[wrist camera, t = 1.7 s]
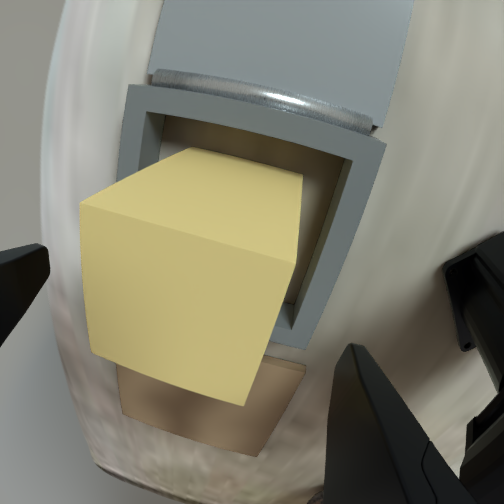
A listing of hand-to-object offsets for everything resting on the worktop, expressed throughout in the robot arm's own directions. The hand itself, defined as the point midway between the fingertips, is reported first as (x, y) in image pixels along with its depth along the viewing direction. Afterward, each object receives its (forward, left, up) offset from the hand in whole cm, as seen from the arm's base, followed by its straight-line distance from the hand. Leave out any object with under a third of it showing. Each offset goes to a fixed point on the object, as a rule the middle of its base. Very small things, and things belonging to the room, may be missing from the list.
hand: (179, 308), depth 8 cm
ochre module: (0, 0, -7) cm, 7 cm away
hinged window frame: (+4, -4, -7) cm, 9 cm away
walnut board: (-10, +10, -7) cm, 16 cm away
